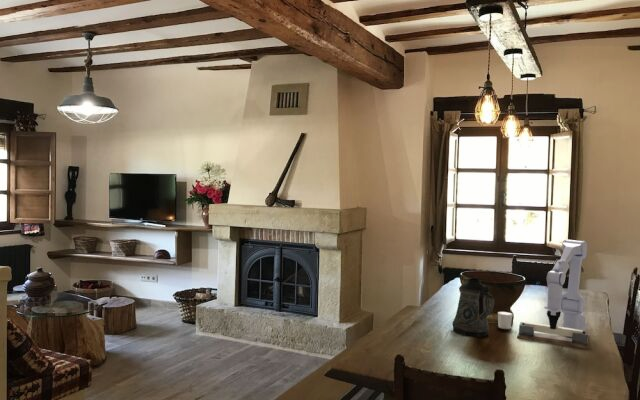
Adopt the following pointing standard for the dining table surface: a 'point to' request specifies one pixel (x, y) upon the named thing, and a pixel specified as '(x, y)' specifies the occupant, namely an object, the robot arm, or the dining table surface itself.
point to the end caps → (576, 337)
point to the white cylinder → (504, 320)
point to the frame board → (553, 340)
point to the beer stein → (473, 309)
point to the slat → (556, 331)
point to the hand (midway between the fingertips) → (553, 327)
